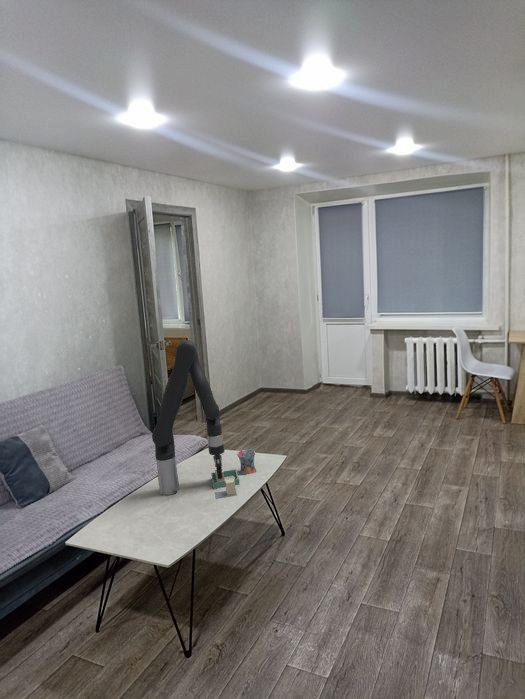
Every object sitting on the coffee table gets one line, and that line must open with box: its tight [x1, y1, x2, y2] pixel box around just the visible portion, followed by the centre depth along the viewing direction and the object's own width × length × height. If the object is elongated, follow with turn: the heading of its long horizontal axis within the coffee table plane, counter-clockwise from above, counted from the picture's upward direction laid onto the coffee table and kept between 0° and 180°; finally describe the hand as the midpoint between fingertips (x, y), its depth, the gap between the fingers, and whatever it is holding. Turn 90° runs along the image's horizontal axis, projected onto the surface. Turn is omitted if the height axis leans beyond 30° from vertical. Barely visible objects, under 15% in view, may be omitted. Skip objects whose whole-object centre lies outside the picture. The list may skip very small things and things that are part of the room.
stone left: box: [214, 468, 226, 482], centre depth 247 cm, size 4×4×6 cm
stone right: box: [225, 478, 237, 496], centre depth 233 cm, size 4×4×6 cm
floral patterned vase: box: [236, 449, 257, 475], centre depth 258 cm, size 12×9×11 cm
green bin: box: [210, 469, 240, 489], centre depth 247 cm, size 13×13×4 cm
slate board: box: [214, 488, 238, 500], centre depth 233 cm, size 10×7×1 cm
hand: (219, 475), depth 247 cm, fingers open, 8 cm apart
